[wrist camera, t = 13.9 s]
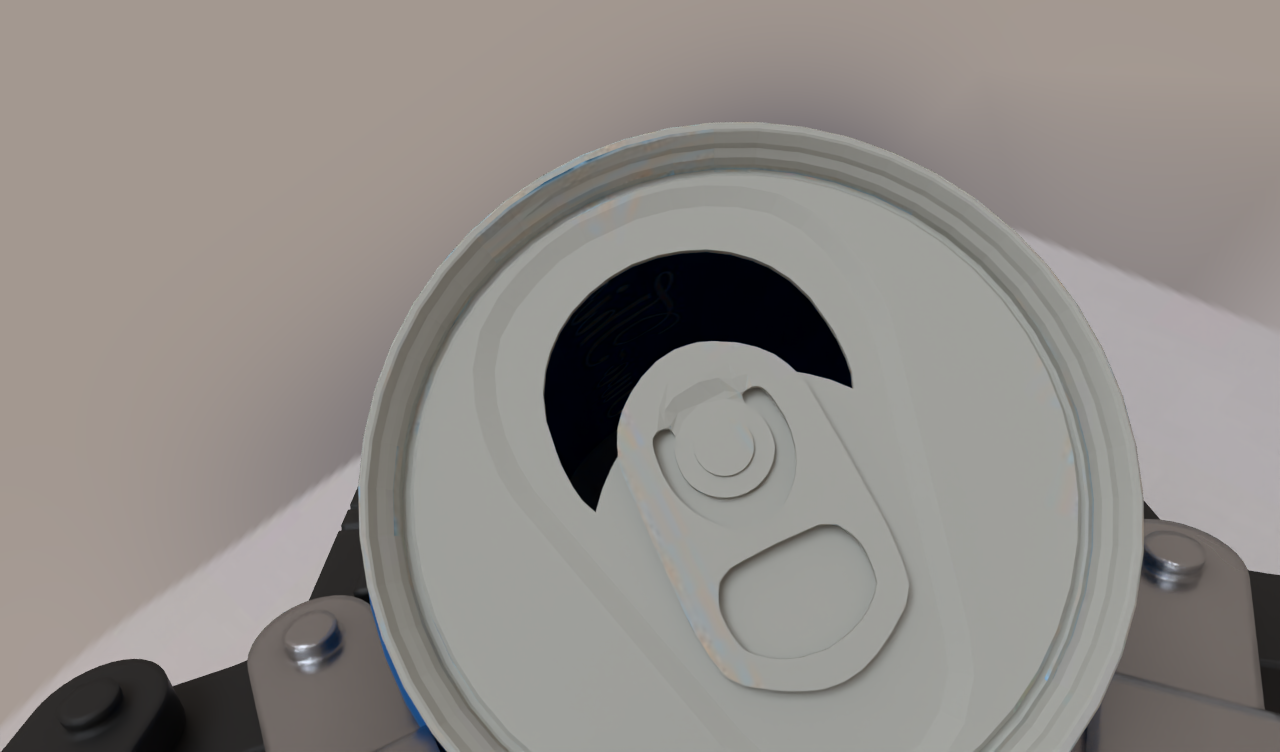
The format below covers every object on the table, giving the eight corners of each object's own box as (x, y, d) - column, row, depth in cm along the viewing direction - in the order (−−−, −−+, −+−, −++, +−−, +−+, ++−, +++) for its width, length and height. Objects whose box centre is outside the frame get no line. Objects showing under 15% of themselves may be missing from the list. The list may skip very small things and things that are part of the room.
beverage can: (775, 361, 19) (909, -44, 7) (929, 644, 17) (1422, 700, 6) (503, 490, 18) (188, 277, 7) (632, 793, 17) (500, 1187, 5)
